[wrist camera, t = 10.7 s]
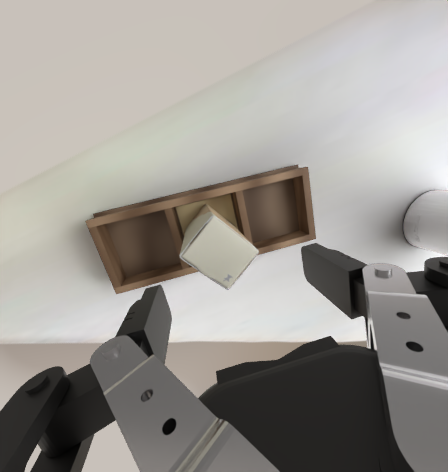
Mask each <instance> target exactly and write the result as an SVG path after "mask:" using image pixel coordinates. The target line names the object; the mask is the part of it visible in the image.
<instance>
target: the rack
mask: <svg viewBox="0 0 448 472" xmlns="http://www.w3.org/2000/svg"><path fill="white" fill-rule="evenodd" d="M205 204H207V205H209V206H210V207H211V208H212V209H214V210H215V211H216V212H218V213H219V214H220V215H221V216H223V217H224V218H225V219H226V220H228V221H229V222H230V223H231V224H232V225H234V226H235V227H236V228H237V229H238V230H239V231H240V232H241V233H242V234H243V235H244V237H245V238H246V239H247V240H248V241H249V242H250V243H251V244H252V245H253V246H254V247H255V248H257V249H258V251H259V253H258V254H257V255H259V254H263V253H267V252H270V251H274V250H277V249H281V248H285V247H288V246H292V245H295V244H299V243H303V242H306V241H310V240H313V239H316V236H315V227H314V218H313V209H312V200H311V191H310V181H309V172H308V167H304V168H298V165H294V166H290V167H285V168H281V169H277V170H273V171H269V172H265V173H261V174H256V175H252V176H248V177H244V178H240V179H236V180H231V181H227V182H223V183H219V184H215V185H211V186H207V187H202V188H198V189H194V190H190V191H186V192H182V193H178V194H173V195H169V196H165V197H161V198H157V199H153V200H149V201H144V202H140V203H136V204H132V205H128V206H124V207H120V208H115V209H111V210H107V211H103V212H99V213H95V214H93V216H94V218H93V219H90V220H87V221H86V224H87V226H88V229H89V231H90V233H91V236H92V238H93V240H94V243H95V245H96V247H97V250H98V252H99V255H100V257H101V259H102V262H103V264H104V266H105V269H106V271H107V273H108V276H109V278H110V281H111V283H112V285H113V288H114V290H115V292H116V294H119V293H123V292H126V291H130V290H133V289H137V288H141V287H144V286H148V285H151V284H155V283H159V282H162V281H166V280H169V279H173V278H177V277H180V276H184V275H187V274H191V273H195V272H198V270H196V269H195V268H193V267H192V266H190V265H189V264H187V263H186V262H185V261H183V260H182V259H181V258H180V256H179V255H180V252H181V248H182V244H183V240H184V236H185V231H186V228H187V226H188V225H189V224H190V222H191V221H192V220H193V218H194V217H195V216H196V215H197V213H198V212H199V211H200V210H201V209H202V207H203V206H204V205H205Z"/></svg>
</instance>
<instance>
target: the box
mask: <svg viewBox="0 0 448 472" xmlns="http://www.w3.org/2000/svg"><path fill="white" fill-rule="evenodd" d="M258 253H259V251H258V249H257V248H255V247H254V246H253V245H252V244H251V243H250V242H249V241H248V240H247V239H246V238H245V237H244V235H243V234H242V233H241V232H240V231H239V230H238V229H237V228H236V227H235V226H234V225H232V224H231V223H230V222H229V221H228V220H226V219H225V218H224V217H223V216H221V215H220V214H219V213H218V212H216V211H215V210H214V209H212V208H211V207H210V206H209V205H207V204H205V205H204V206H203V207H202V209H201V210H200V211H199V212H198V213H197V215H196V216H195V217H194V218H193V220H192V221H191V222H190V224H189V225H188V226H187V228H186V231H185V236H184V240H183V244H182V248H181V252H180V255H179V256H180V258H181V259H182V260H183V261H185V262H186V263H187V264H189V265H190V266H192V267H193V268H195V269H196V270H198V271H199V272H201V273H202V274H204V275H205V276H207V277H208V278H210V279H211V280H213V281H214V282H216V283H217V284H219V285H220V286H222V287H224V288H225V289H227V290H229V289H230V287H231V286H232V285H233V284H234V283H235V282H236V280H237V279H238V278H239V277H240V276H241V274H242V273H243V272H244V271H245V270H246V268H247V267H248V266H249V265H250V263H251V262H252V261H253V259H254V258H255V257H256V256H257V254H258Z"/></svg>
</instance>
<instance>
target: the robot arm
mask: <svg viewBox="0 0 448 472" xmlns="http://www.w3.org/2000/svg"><path fill="white" fill-rule="evenodd" d="M403 230H404V235H405V238H406V239H407V241H408V242H409V243H410V244H411V245H413V246H415V247H419V248H423V249H426V250H430V251H433V252H437V253H441V254H444V255H447V256H448V190H432V191H428V192H426V193H424V194H422V195H421V196H419V197H418V198H417V199H416V200H415V201H414V202H413V203H412V204H411V206H410V207H409V209H408V211H407V213H406V215H405V219H404V224H403ZM301 253H302V261H303V269H304V274H305V277H306V279H307V281H308V282H309V283H310V284H311V285H312V286H313V287H315V288H316V289H317V290H318V291H319V292H320V293H322V294H323V295H324V296H325V297H326V298H327V299H329V300H330V301H331V302H332V303H333V304H334V305H336V306H337V307H338V308H339V309H340V310H341V311H343V312H344V313H345V314H346V315H347V316H348V317H350V318H351V319H354V318H357V317H360V316H364V317H365V330H366V338H367V347H368V348H366V347H361V346H355V345H338V344H337V343H336V342H335V340H334V339H333V338H332V337H331V336H329V337H325V338H322V339H319V340H316V341H313V342H309V343H306V344H303V345H302V346H300V347H298V348H297V349H295V350H293V351H292V352H290V353H289V354H287V355H285V356H284V357H282V358H280V359H278V360H271V361H257V362H245V363H242V364H238V365H235V366H232V367H229V368H225V369H222V370H219V371H216V375H217V383H216V384H214V385H213V386H211V387H210V388H209V389H208V390H206V391H205V392H204V393H203V394H202V395H201V396H200V397H199V398H197V397H196V396H195V395H194V394H193V393H192V392H191V391H190V390H189V389H188V388H187V387H186V386H185V385H184V384H183V383H182V382H181V381H180V380H179V379H178V378H177V377H176V376H175V375H174V374H173V373H172V372H171V371H170V370H169V369H168V368H167V367H166V366H165V365H164V364H165V358H166V352H167V345H168V340H169V334H170V328H171V321H172V318H171V312H170V308H169V305H168V302H167V300H166V297H165V294H164V291H163V288H162V286H161V285H158V286H154V287H150V288H147V289H145V291H144V294H143V296H142V298H141V300H137V301H136V302H135V303H134V304H133V305H132V306H131V307H130V309H129V311H128V313H127V315H126V317H125V319H124V321H123V323H122V325H121V327H120V329H119V331H118V332H117V334H116V336H115V338H112V339H110V340H108V341H107V342H105V343H104V344H102V345H101V346H100V347H99V348H98V349H97V350H96V351H95V352H94V353H93V355H92V356H91V359H90V364H88V365H86V366H84V367H83V368H80V369H79V370H76V371H75V372H73V373H71V374H69V375H66V373H65V371H64V369H63V368H62V367H52V368H49V369H47V370H45V371H43V372H41V373H39V374H37V375H36V376H34V377H33V378H31V379H30V380H28V381H27V382H26V383H25V384H24V385H23V386H21V387H20V388H19V389H18V390H17V391H16V393H15V394H14V395H13V396H12V398H11V399H10V400H9V401H8V402H7V404H6V405H5V406H4V408H3V409H2V410H1V411H0V472H24V471H25V467H26V464H27V462H28V460H29V458H30V456H31V454H32V453H33V451H34V449H35V447H36V445H37V444H38V445H39V446H40V448H41V450H42V451H41V453H40V455H39V456H38V459H37V460H36V462H35V464H34V466H33V468H32V470H31V471H30V472H81V471H82V468H83V465H84V462H85V459H86V457H87V454H88V451H89V448H90V445H91V442H92V439H93V436H94V433H96V432H98V431H99V430H101V429H102V428H104V427H106V426H107V425H109V424H110V423H112V422H113V421H115V420H116V421H117V423H118V426H119V428H120V430H121V432H122V434H123V436H124V438H125V440H126V443H127V445H128V447H129V449H130V451H131V453H132V455H133V458H134V460H135V462H136V464H137V466H138V468H139V470H140V472H448V257H436V258H430V259H428V260H426V261H425V265H424V271H419V272H408V273H406V272H405V270H403V269H402V268H400V267H398V266H395V265H391V264H381V263H378V264H370V265H367V264H365V263H362V262H360V261H358V260H356V259H354V258H351V257H350V256H347V255H344V254H343V253H341V252H339V251H336V250H331V249H327V248H325V247H323V246H321V245H319V244H317V243H314V244H311V245H307V246H303V247H302V249H301Z"/></svg>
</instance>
